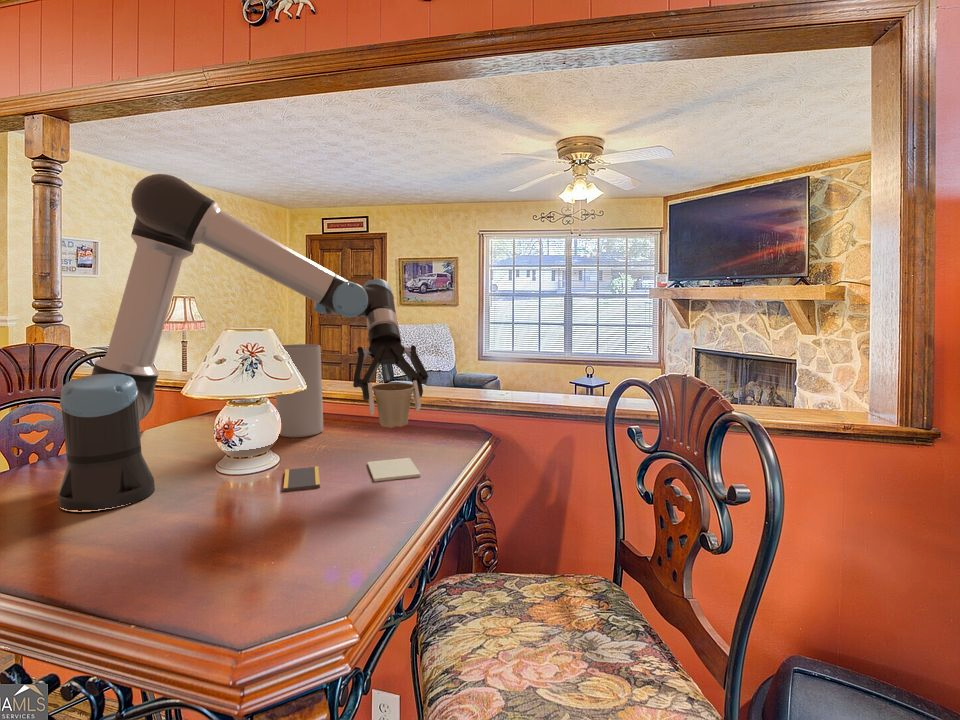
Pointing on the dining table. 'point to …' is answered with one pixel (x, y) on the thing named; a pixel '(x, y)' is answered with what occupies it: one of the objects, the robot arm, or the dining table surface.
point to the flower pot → (393, 403)
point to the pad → (393, 469)
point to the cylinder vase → (303, 394)
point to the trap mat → (301, 478)
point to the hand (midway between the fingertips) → (395, 409)
